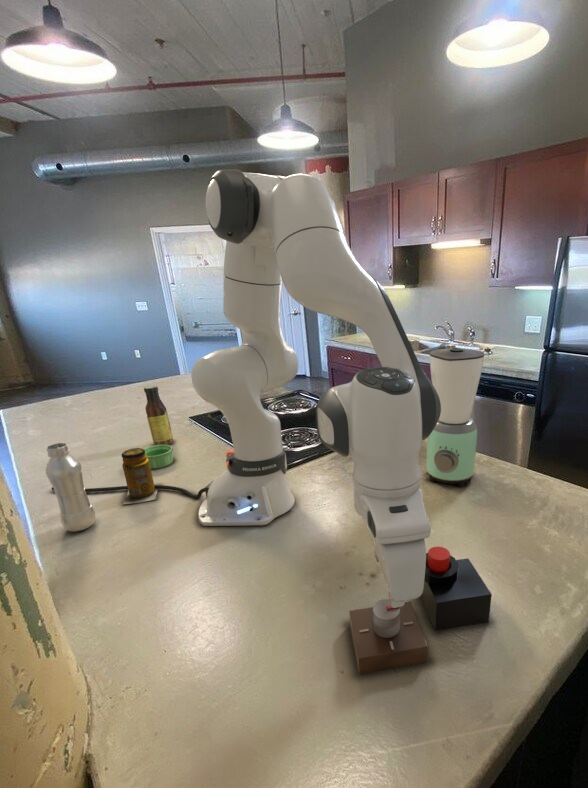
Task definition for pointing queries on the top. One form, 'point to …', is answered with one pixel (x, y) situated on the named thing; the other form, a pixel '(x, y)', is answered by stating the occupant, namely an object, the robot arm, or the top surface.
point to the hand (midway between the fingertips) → (388, 579)
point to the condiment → (138, 476)
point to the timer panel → (387, 641)
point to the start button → (438, 559)
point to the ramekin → (159, 455)
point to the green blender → (454, 415)
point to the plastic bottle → (69, 488)
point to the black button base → (456, 596)
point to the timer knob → (386, 619)
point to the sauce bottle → (157, 417)
